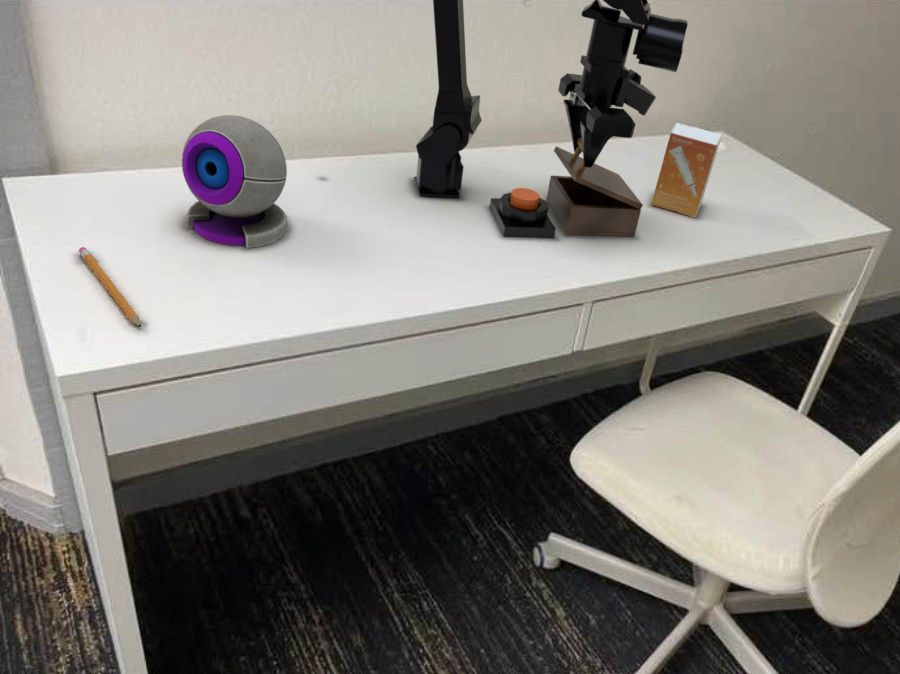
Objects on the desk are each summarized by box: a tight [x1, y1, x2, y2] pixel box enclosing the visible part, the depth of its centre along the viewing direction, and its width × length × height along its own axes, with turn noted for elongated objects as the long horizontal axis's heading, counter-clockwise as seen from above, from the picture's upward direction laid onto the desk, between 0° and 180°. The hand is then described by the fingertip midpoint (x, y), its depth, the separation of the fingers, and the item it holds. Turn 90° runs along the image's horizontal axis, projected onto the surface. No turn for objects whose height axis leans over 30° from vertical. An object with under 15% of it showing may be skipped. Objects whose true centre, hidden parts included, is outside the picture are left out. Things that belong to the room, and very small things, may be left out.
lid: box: [553, 137, 644, 210], centre depth 132 cm, size 12×12×5 cm
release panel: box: [489, 192, 556, 239], centre depth 132 cm, size 10×8×4 cm
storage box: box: [545, 175, 642, 239], centre depth 136 cm, size 12×12×5 cm
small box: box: [651, 122, 723, 218], centre depth 145 cm, size 8×6×13 cm
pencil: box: [78, 246, 142, 328], centre depth 99 cm, size 1×1×19 cm
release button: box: [510, 187, 541, 210], centre depth 130 cm, size 4×4×2 cm
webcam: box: [181, 114, 288, 249], centre depth 113 cm, size 13×13×15 cm
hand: (582, 159), depth 131 cm, fingers closed on lid, 5 cm apart
